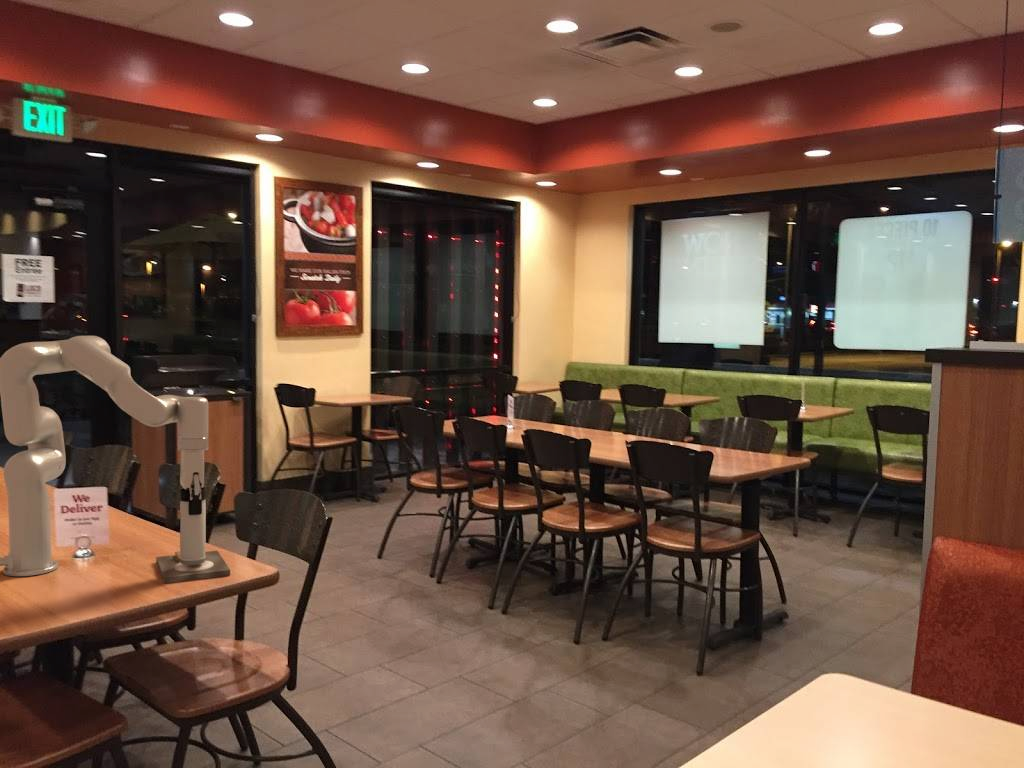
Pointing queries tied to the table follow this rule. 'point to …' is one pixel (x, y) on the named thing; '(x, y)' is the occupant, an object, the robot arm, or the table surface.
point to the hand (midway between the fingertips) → (193, 511)
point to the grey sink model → (191, 568)
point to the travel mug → (192, 531)
